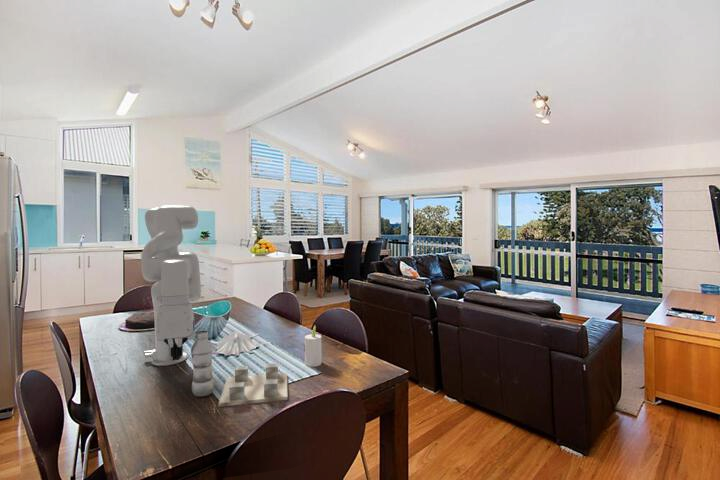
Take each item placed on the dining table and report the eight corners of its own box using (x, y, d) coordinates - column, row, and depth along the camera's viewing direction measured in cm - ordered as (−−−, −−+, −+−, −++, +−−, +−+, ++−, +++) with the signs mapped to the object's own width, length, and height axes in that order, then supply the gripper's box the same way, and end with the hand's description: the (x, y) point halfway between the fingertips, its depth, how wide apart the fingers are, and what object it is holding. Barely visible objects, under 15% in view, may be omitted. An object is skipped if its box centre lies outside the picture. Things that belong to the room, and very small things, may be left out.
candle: (304, 360, 142) (304, 322, 142) (321, 360, 143) (321, 322, 142) (303, 366, 136) (303, 327, 135) (321, 366, 137) (321, 327, 136)
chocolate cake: (124, 336, 172) (123, 322, 172) (114, 324, 193) (113, 311, 193) (186, 325, 191) (186, 313, 191) (171, 315, 212) (171, 304, 211)
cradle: (218, 406, 107) (218, 390, 107) (227, 380, 124) (227, 366, 124) (287, 399, 111) (287, 383, 111) (286, 375, 129) (286, 361, 128)
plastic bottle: (206, 400, 111) (205, 336, 110) (186, 398, 112) (185, 334, 111) (218, 390, 117) (217, 329, 116) (200, 388, 118) (198, 328, 117)
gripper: (144, 303, 106) (145, 365, 107) (198, 301, 109) (199, 361, 110) (153, 298, 113) (154, 356, 114) (204, 296, 116) (205, 352, 117)
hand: (176, 358), depth 112 cm, fingers closed
